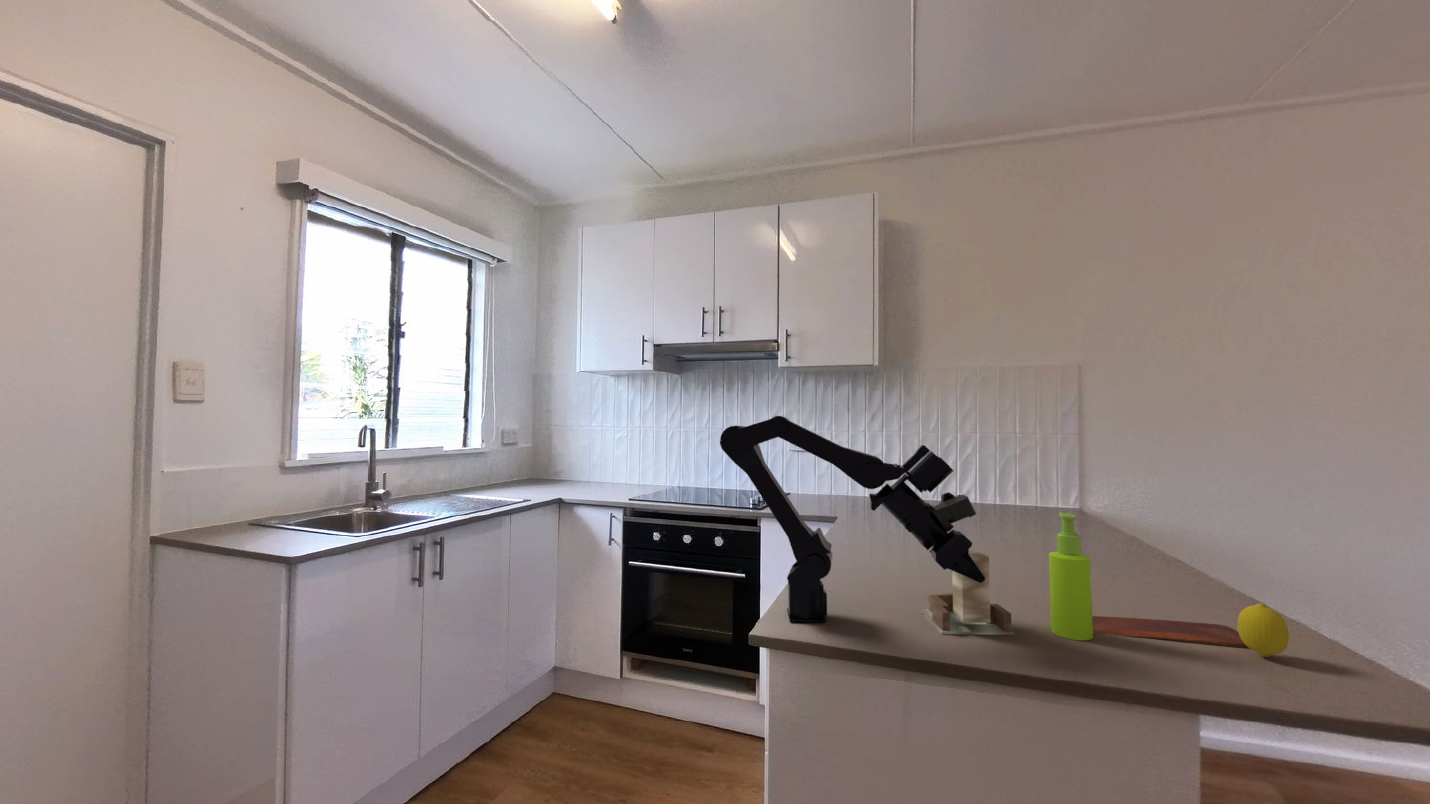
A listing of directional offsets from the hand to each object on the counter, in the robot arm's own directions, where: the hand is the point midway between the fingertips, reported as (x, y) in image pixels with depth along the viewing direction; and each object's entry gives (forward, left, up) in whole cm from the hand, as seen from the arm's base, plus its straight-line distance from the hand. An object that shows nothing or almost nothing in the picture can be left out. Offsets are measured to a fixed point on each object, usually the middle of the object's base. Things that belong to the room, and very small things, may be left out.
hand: (978, 576), depth 95 cm
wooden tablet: (+29, +1, -10) cm, 31 cm away
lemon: (+38, -10, -9) cm, 40 cm away
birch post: (-1, 0, -7) cm, 7 cm away
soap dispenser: (+15, -1, -9) cm, 17 cm away
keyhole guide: (-1, +3, -9) cm, 10 cm away
